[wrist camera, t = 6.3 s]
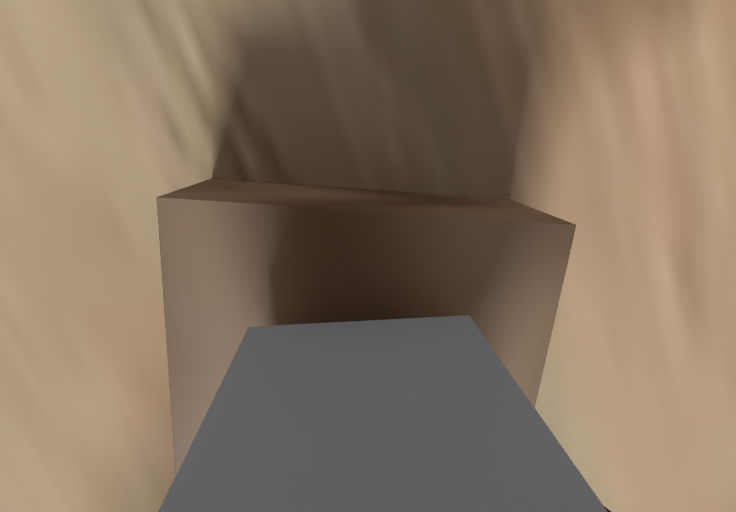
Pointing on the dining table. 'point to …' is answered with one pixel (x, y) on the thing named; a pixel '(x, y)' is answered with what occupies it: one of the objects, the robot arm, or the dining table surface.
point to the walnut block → (347, 273)
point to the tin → (374, 427)
